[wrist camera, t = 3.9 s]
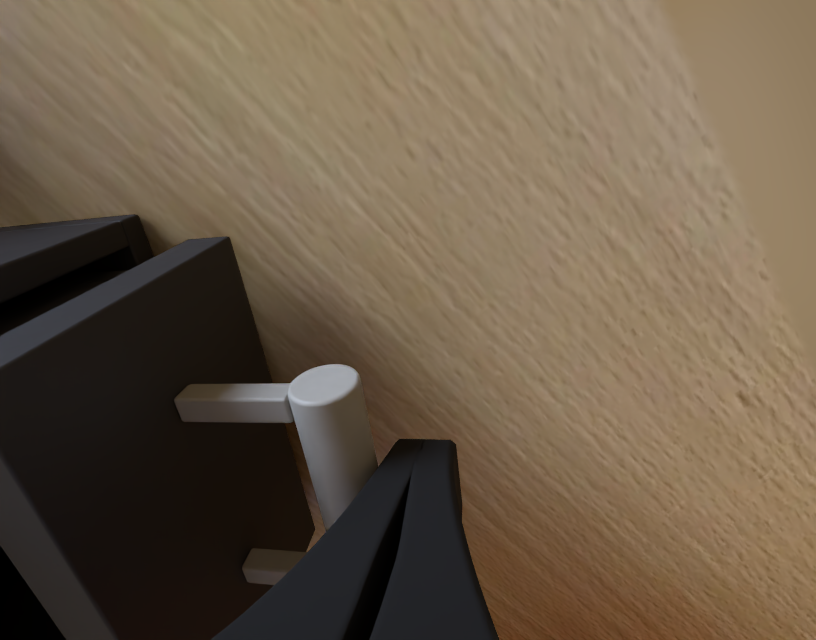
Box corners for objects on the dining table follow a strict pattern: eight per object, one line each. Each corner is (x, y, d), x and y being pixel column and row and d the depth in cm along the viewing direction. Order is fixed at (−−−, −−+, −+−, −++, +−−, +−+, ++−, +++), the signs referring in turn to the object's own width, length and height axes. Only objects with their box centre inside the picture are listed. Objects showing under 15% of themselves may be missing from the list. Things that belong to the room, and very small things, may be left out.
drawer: (382, 223, 11) (240, 388, 5) (430, 536, 15) (382, 820, 10) (-86, 261, 14) (-507, 392, 8) (63, 512, 19) (-143, 716, 13)
